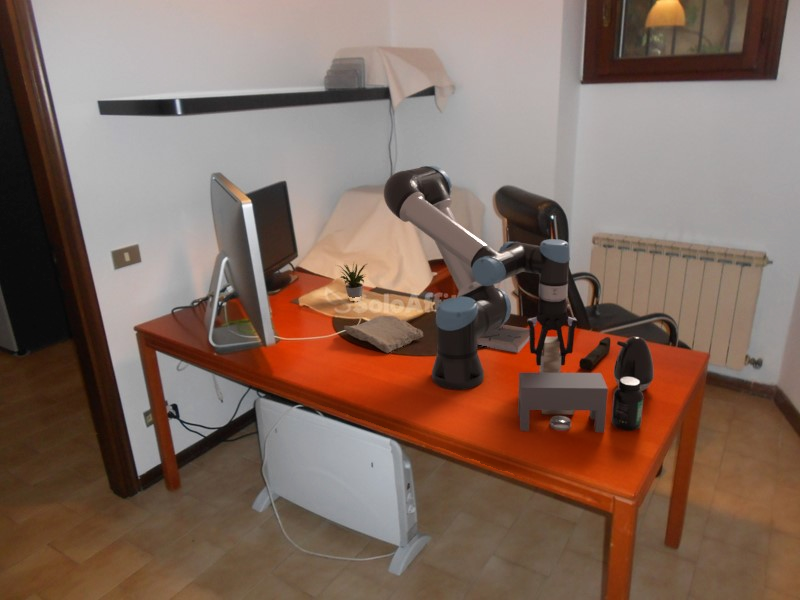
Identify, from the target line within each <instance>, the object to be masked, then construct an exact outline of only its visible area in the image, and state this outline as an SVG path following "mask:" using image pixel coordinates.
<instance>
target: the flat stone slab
mask: <svg viewBox="0 0 800 600" xmlns="http://www.w3.org/2000/svg"><path fill="white" fill-rule="evenodd" d="M343 329H344V331H345V332H346V333H347V334H348V335H350V336H352V337H353V338H356V339H358V340H360V341H364V342H368V343H370V344H371V345H373V346H375V347H376V348H378V349H379V350H381V351H382V352H384V353H386V354H388V353H389V352H391V351H392V350H394V349H396V348H400V347H402V346H403V345H406V344H408V345H409V344H411V342H412V341H415V340H419V339H420V338H423V337H424V332H423V331H422V329H420V328H416V327H414V326H413V325H412V324H411V323H409V322H407V321H406V320H404V319H401V318H398V317H396V316H394V315H379V316H377V317H374V318H371V319H369V320H367V321H365V322H362V323H360V324H357V325H344V326H343ZM406 346H407V345H406ZM402 348H403V347H402ZM391 353H392V352H391ZM389 354H390V353H389Z"/></svg>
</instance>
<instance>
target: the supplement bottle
mask: <svg viewBox="0 0 800 600" xmlns="http://www.w3.org/2000/svg"><path fill="white" fill-rule="evenodd" d="M617 385H618V386H617V387H616V388H615V389H614V391H613V399H612V408H611V409H612V410H611V424H612V425H613V426H614V427H615V428H617V429H618V430H622V431H627V432H632V431H637V430H638V429H640V427H641V425H642V416H643V408H644V407H643V406H644V393H643V391H640V380H638V379H637V378H634V377H622V378H620V380H619V384H617Z"/></svg>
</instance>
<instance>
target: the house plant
mask: <svg viewBox="0 0 800 600" xmlns="http://www.w3.org/2000/svg"><path fill="white" fill-rule="evenodd" d="M355 262H356V261H353V264H352V267H354V264H355ZM367 265H368V263H365V264H364V265H362V267H361V268H360V269H359V271H358V263H356V264H355V267H354V268H353V270H352V271H351V270H350V268H349V265H348V264H346V263H345V262H344V264H343V266H344V268H345V269H346V270H345V269H344V268H343V267H341V266H340V265H337V264H336V266H337V267H340V268H341V270H342V271H341V273H342V274H343V275H341V276H340V277H339V279H340V278H341V279H343V281H344V285H345V290H346V293H347V297H348V296H349V297H352V298H355V297H360V296H362V297H363V290H364V289H363V288H364V283H365V280H364V278H365V277H367V275H364V274H361V273H362V271H363V270H365V269H366V266H367ZM343 271H344V272H343Z"/></svg>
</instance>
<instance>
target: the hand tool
mask: <svg viewBox="0 0 800 600" xmlns="http://www.w3.org/2000/svg"><path fill="white" fill-rule="evenodd" d="M610 348H611V337H610V336H608V337H607V336H605V337H604V338H603V339H601V340H600V341H599V343H598V345H597V346H595V348H593V349H592V350H591V351H590V352H589V353H588V354H587V355H586V356H585V357H583V358H580V360H579V365H578V366H579V368H580V369H581V370H584V371H588V372H589V371H592V370H593V368H594V367H595V365H596V364H597V363H598V362H599V361H601V359H602V358H603V357H605V356H607V355H608V354H609V352H610Z"/></svg>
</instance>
